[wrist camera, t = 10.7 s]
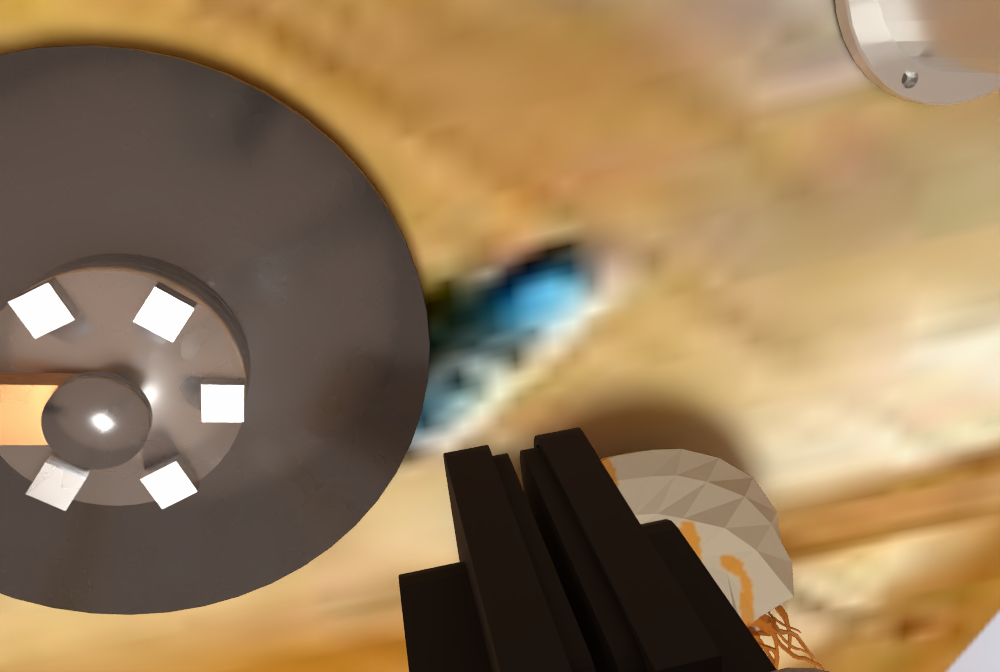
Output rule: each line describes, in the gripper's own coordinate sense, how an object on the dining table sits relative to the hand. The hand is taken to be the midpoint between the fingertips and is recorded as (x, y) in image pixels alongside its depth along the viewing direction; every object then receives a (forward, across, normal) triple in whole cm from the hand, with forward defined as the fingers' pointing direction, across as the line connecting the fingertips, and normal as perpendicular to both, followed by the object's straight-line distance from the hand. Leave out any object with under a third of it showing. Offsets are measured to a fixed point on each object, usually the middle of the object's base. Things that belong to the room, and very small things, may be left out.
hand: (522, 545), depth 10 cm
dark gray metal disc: (+28, +12, +6) cm, 31 cm away
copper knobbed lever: (+26, +16, +5) cm, 31 cm away
